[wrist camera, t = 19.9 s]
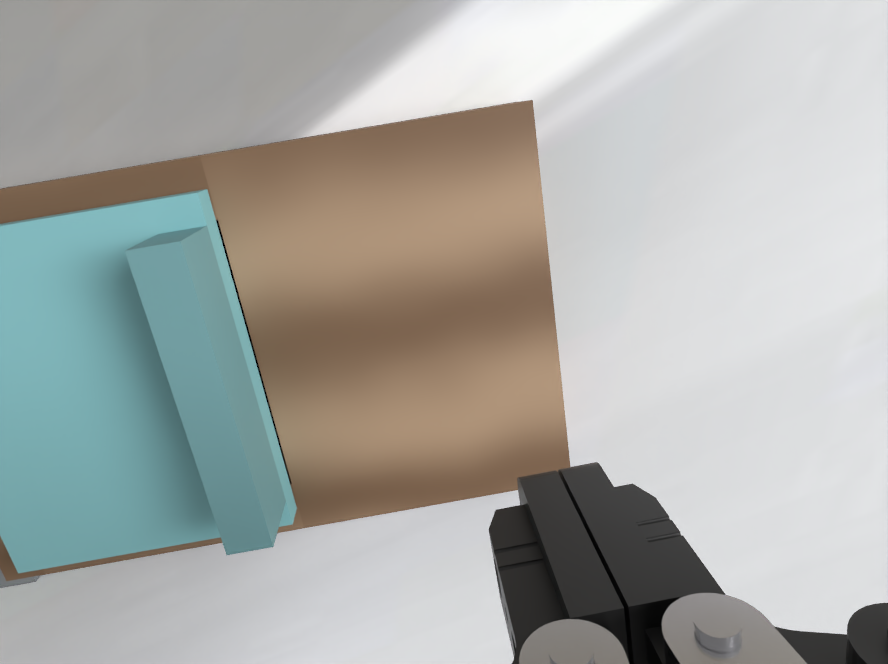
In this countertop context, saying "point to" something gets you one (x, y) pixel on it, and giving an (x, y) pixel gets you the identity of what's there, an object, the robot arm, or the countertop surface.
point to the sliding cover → (130, 389)
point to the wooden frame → (378, 304)
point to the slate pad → (2, 582)
